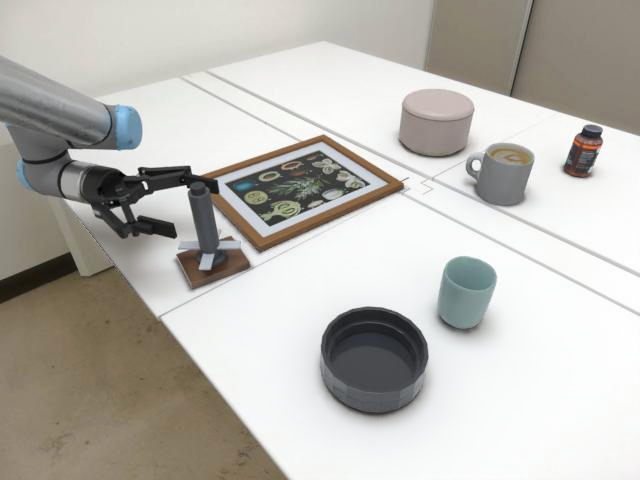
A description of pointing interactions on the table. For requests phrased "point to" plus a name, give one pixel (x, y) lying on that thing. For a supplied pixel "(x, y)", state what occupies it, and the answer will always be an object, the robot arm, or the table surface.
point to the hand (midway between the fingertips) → (197, 207)
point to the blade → (206, 230)
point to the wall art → (297, 189)
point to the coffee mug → (502, 172)
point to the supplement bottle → (584, 151)
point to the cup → (465, 291)
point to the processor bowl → (373, 359)
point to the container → (435, 121)
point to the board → (201, 277)
